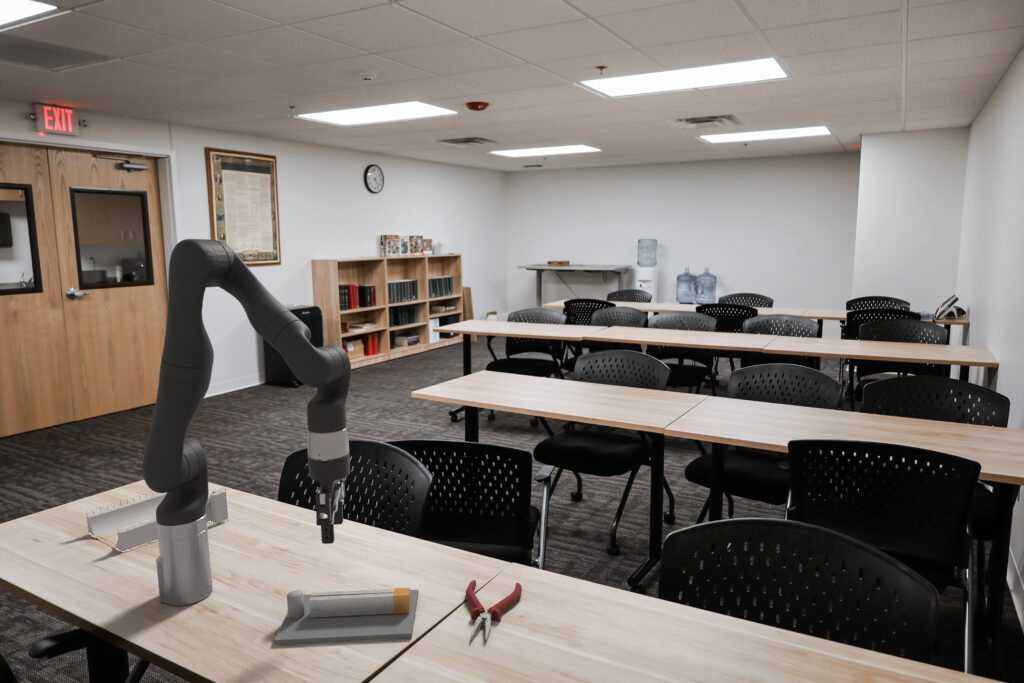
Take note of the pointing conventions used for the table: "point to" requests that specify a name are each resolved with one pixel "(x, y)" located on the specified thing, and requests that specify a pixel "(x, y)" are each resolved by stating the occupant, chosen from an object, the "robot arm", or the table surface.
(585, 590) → the table surface
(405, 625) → the mat
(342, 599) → the leg
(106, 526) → the skate ramp
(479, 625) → the pliers
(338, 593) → the leg
